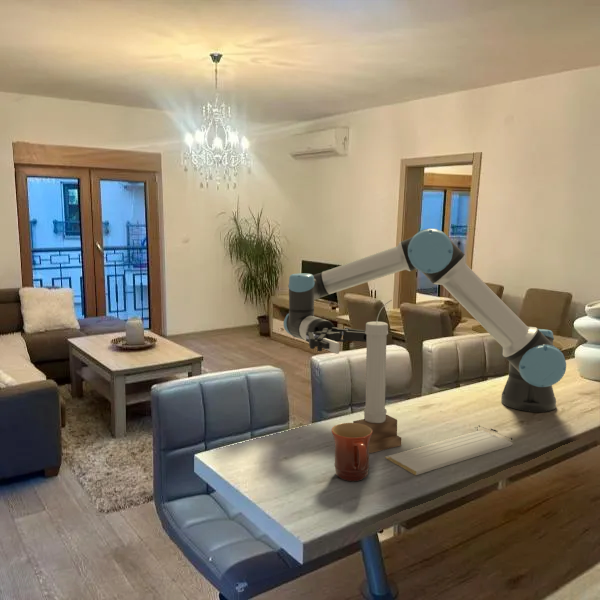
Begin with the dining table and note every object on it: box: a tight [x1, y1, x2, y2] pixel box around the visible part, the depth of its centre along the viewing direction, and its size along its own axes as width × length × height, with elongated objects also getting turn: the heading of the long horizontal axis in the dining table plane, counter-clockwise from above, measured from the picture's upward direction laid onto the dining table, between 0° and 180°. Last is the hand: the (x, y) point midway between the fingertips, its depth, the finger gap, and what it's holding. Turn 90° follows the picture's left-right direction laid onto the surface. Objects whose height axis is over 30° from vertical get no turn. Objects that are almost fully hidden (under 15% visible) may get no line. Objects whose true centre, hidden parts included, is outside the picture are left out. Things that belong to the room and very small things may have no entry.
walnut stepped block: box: [352, 414, 402, 454], centre depth 133 cm, size 10×8×6 cm
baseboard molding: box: [384, 425, 513, 476], centre depth 129 cm, size 31×3×12 cm
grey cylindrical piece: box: [363, 299, 393, 423], centre depth 131 cm, size 6×6×30 cm
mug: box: [331, 422, 373, 482], centre depth 115 cm, size 12×9×10 cm
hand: (360, 345), depth 136 cm, fingers open, 13 cm apart
